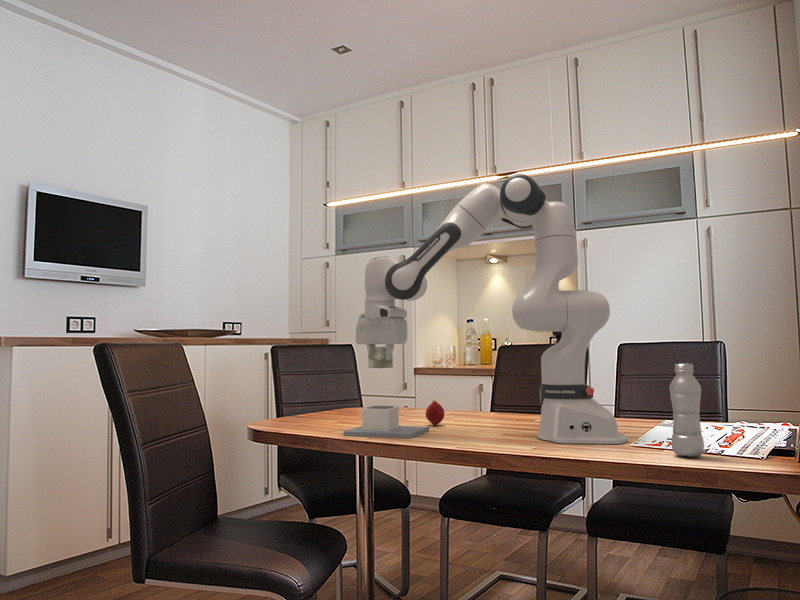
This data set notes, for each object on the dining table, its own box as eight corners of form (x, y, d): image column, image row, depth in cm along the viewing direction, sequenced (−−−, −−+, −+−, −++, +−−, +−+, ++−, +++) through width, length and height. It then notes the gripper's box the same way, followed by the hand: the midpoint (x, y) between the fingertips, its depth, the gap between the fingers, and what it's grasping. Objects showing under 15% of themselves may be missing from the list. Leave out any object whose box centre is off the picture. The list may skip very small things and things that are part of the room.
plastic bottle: (694, 453, 138) (690, 363, 139) (711, 459, 131) (706, 364, 132) (666, 454, 137) (662, 363, 139) (681, 459, 131) (676, 364, 132)
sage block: (392, 367, 179) (392, 346, 180) (379, 368, 176) (379, 347, 176) (381, 367, 183) (381, 346, 183) (368, 367, 179) (368, 347, 180)
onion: (444, 424, 195) (444, 398, 196) (444, 426, 190) (443, 400, 190) (426, 424, 196) (426, 399, 197) (425, 426, 190) (425, 400, 191)
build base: (429, 430, 181) (428, 405, 182) (410, 438, 166) (410, 410, 167) (366, 428, 188) (366, 403, 189) (343, 435, 173) (343, 408, 174)
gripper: (350, 314, 186) (350, 360, 185) (393, 310, 171) (394, 360, 170) (367, 314, 190) (367, 359, 189) (410, 311, 175) (411, 360, 174)
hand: (380, 360), depth 180 cm, fingers closed on sage block, 5 cm apart
